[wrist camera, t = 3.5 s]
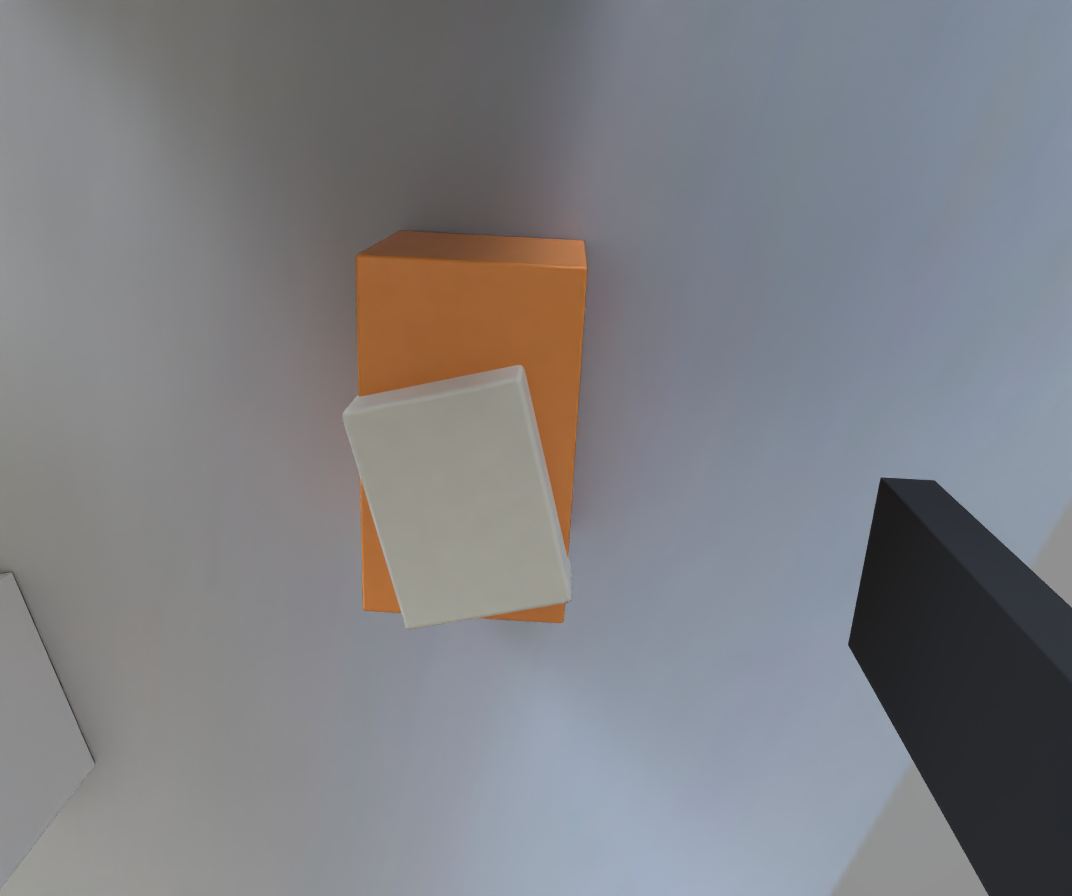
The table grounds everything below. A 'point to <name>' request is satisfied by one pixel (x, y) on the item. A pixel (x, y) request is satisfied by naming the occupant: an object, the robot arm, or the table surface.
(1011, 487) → the table surface
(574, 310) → the orange and grey block
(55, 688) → the white cube
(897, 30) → the table surface
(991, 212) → the table surface
